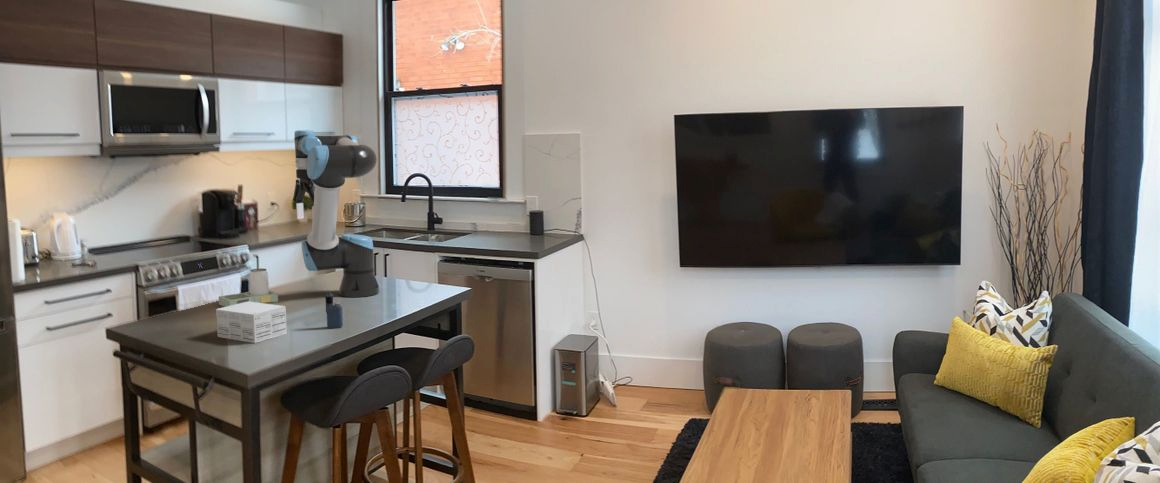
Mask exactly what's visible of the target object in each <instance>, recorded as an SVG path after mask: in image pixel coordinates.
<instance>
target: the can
mask: <svg viewBox="0 0 1160 483" xmlns="http://www.w3.org/2000/svg"><path fill="white" fill-rule="evenodd" d="M269 282H270V281H269V273H268V271H267V268H252V269H250V272H249V289H250V290H249V292H251V295H252V296H259V295H266V294H269V291H270V284H269Z"/></svg>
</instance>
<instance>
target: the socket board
mask: <svg viewBox="0 0 1160 483" xmlns="http://www.w3.org/2000/svg"><path fill="white" fill-rule="evenodd" d="M248 301H250V302H257V303H264V304H271V303H275V302H279V293H278V292H275V291H271V290H269V294H266V295H259V296H252V295H251V292H250V291H246V292H239V293H233V294H226V295H219V296H218V305H220V306H221V307H227V306H231V305H235V304H239V303H244V302H248Z"/></svg>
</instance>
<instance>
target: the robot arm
mask: <svg viewBox="0 0 1160 483" xmlns="http://www.w3.org/2000/svg"><path fill="white" fill-rule="evenodd" d="M293 140H294V151H295V152H294V153H295V160H294V163H295V168H296V170H295V174H296V175H295V177H296V179H295V187H294V193H293V198H292V201H293V202H295V204H296V206H295V207H296V219H297V220H303V219H305V217H304V216H305V213H304V200H303V199H304V198H305V195H306V193H307V195H308V197H309V199H310V202H311V203H312V204H311V214H312V216H311V218H312V219H311V220H312V223H311V232H310V233H308V235H307V237H306V240H302V241H301V253H302V258H303V262H304V265H305V266H304V267H305V268H306V270H308V271H309V272H310V271H311V272H315V271H317V272H319V271H327V270H338V269H340V270H341V269H342V272H343V275H342V279H341V282H340V285H339V289H338V290H339V296H342V297H348V298H362V297H363V298H364V297H365V298H366V297H370V296H375V295H378V294H379V293H380V287H379V286H380V285H379V283H378V281H377V277H376V275H375V269H374V268H375V267H374V266H375V265H374V264H375V263H374V249H375V248H374V242H373V239H372V237H370V236H368V235H363V234H356V233H355V234H354V233H353V234H352V233H346V234H345V233H344V234H342V235H341V236H340V238H339V236H338V235H337V234H336V231H337V220H338V209H339V200H340V189H341V187H343V186H344V184H345V182H346V179H349V178H351V179H354V178H360V177H363V176H367V175H368V174H369V173H371V172H372V171H373V170H374V168H375V167H376V164H377V154H376V152H375V150H374V149H372V148H371V147H369V146H368V145H366V144H360V143H358V139H357V137H356V136H355V135H348V134H344V135H315V134H314V131H313V130H311V129H310V130H308V129H307V130H306V129H304V130H299V129H298V130H295V131H294V138H293Z"/></svg>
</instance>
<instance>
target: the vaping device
mask: <svg viewBox="0 0 1160 483" xmlns="http://www.w3.org/2000/svg"><path fill="white" fill-rule="evenodd" d="M324 298H325V313H326V328H327V329H342V328H343V324H344V323H343V307H342V305H341V302H334V295H333V293H331V291H327V294H325V297H324Z"/></svg>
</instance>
